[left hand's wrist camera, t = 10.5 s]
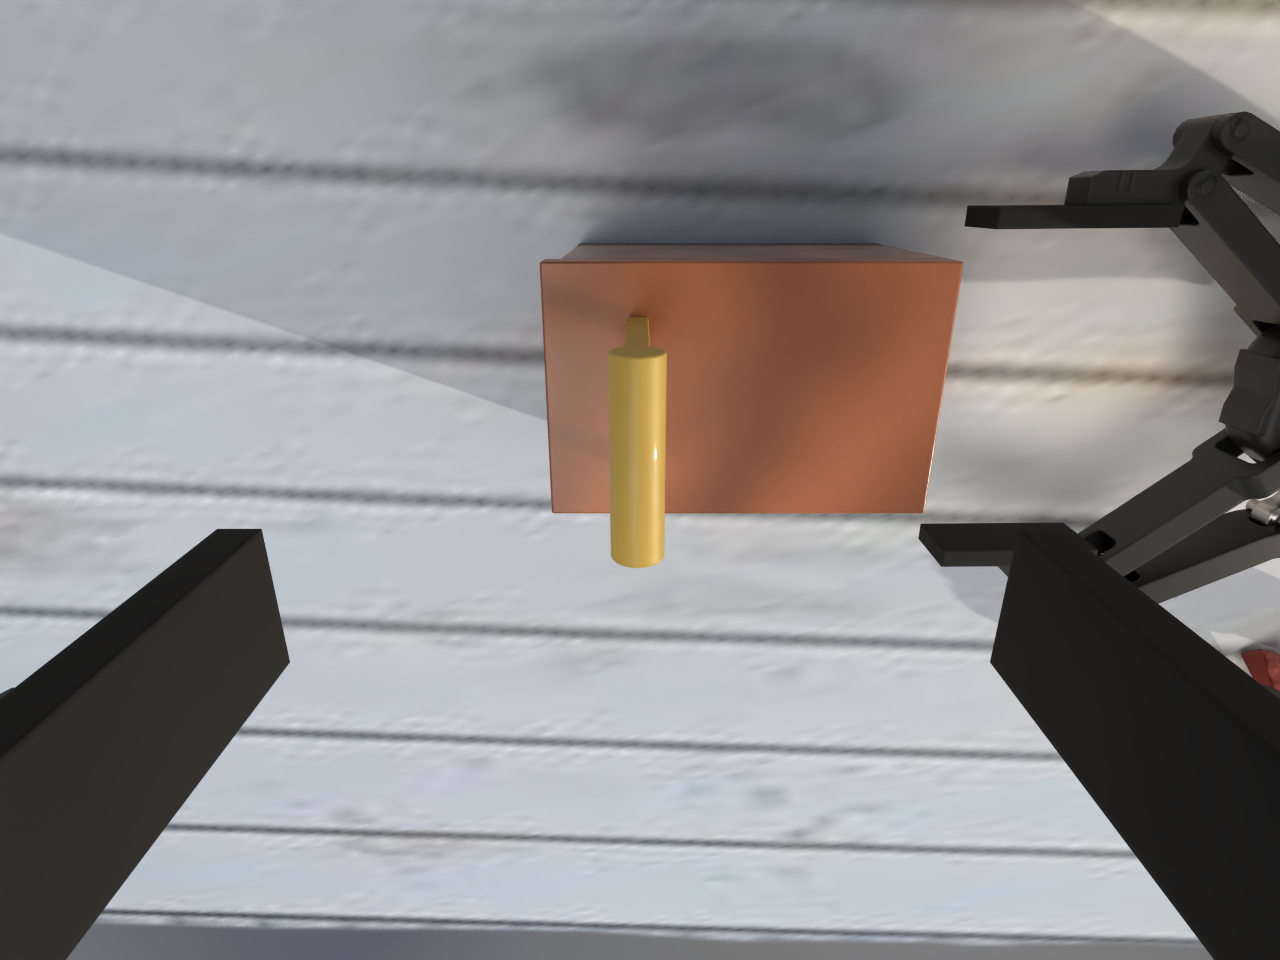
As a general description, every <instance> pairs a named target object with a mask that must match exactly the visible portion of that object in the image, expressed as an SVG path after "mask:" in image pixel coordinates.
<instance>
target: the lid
mask: <svg viewBox="0 0 1280 960" xmlns="http://www.w3.org/2000/svg"><path fill="white" fill-rule="evenodd" d="M962 268H963V262H961V261H956V260H951V259H545V260H543V261H542V262H540V278H541V298H542V318H543V339H544V359H545V379H546V400H547V420H548V440H549V461H550V481H551V501H552V512H553V513H610V524H611V556H612V559H613V560H614V561H615V562H616V563H618V564H620V565H622V566H626V567H632V568H643V567H649V566H653V565H655V564H657V563H659V562H660V561H661V560H662V559H663V557H664V529H665V513H924V509H925V502H926V496H927V490H928V483H929V477H930V471H931V464H932V458H933V452H934V445H935V439H936V433H937V426H938V420H939V414H940V407H941V401H942V395H943V388H944V382H945V376H946V369H947V363H948V357H949V350H950V344H951V338H952V331H953V325H954V319H955V313H956V306H957V300H958V294H959V287H960V281H961V275H962Z"/></svg>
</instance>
